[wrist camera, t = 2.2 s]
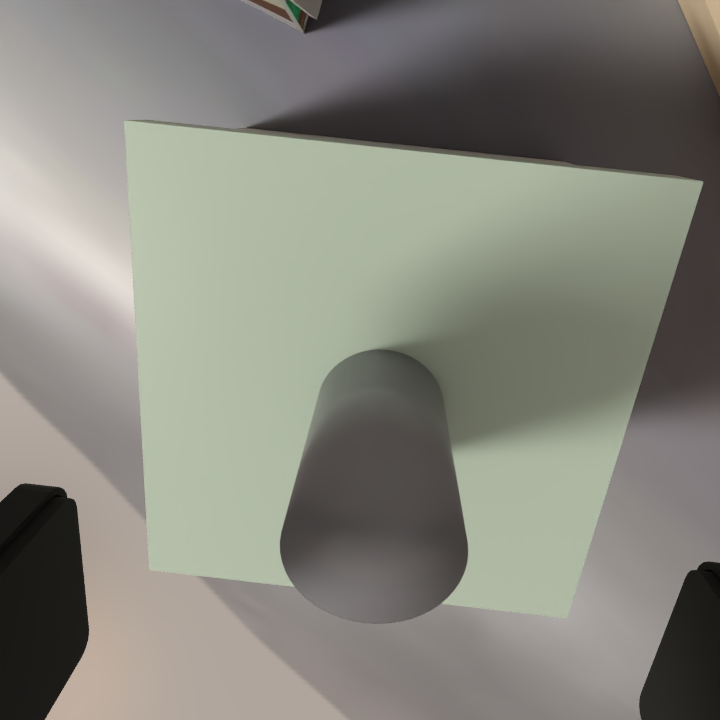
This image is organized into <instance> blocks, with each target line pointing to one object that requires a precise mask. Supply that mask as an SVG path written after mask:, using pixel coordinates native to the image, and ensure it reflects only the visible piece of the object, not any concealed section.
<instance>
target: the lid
mask: <svg viewBox="0 0 720 720" xmlns="http://www.w3.org/2000/svg"><path fill="white" fill-rule="evenodd" d="M124 127H125V144H126V162H127V180H128V198H129V216H130V234H131V251H132V269H133V287H134V305H135V323H136V341H137V359H138V376H139V394H140V412H141V430H142V448H143V466H144V484H145V501H146V519H147V536H148V555H149V570H153V571H162V572H170V573H180V574H188V575H196V576H205V577H214V578H222V579H231V580H240V581H248V582H257V583H266V584H275V585H283V586H292V587H295V588H296V589H297V590H298V591H299V592H300V593H301V594H302V595H303V596H304V597H305V598H306V599H307V600H309V601H310V602H311V603H312V604H314V605H315V606H317V607H319V608H320V609H322V610H324V611H326V612H328V613H330V614H332V615H335V616H337V617H340V618H343V619H347V620H350V621H355V622H361V623H372V624H383V623H394V622H400V621H404V620H408V619H412V618H414V617H417V616H420V615H422V614H424V613H426V612H428V611H430V610H432V609H433V608H435V607H437V606H438V605H440V604H448V605H457V606H466V607H474V608H483V609H492V610H500V611H509V612H518V613H526V614H535V615H544V616H552V617H561V618H567V617H568V614H569V610H570V607H571V604H572V601H573V598H574V594H575V591H576V588H577V585H578V582H579V578H580V575H581V572H582V569H583V566H584V562H585V559H586V556H587V553H588V550H589V546H590V543H591V540H592V537H593V534H594V530H595V527H596V524H597V521H598V518H599V514H600V511H601V508H602V505H603V502H604V498H605V495H606V492H607V489H608V486H609V483H610V479H611V476H612V473H613V470H614V467H615V463H616V460H617V457H618V454H619V451H620V447H621V444H622V441H623V438H624V435H625V431H626V428H627V425H628V422H629V419H630V415H631V412H632V409H633V406H634V403H635V399H636V396H637V393H638V390H639V387H640V383H641V380H642V377H643V374H644V371H645V367H646V364H647V361H648V358H649V355H650V351H651V348H652V345H653V342H654V339H655V336H656V332H657V329H658V326H659V323H660V320H661V316H662V313H663V310H664V307H665V304H666V300H667V297H668V294H669V291H670V288H671V284H672V281H673V278H674V275H675V272H676V268H677V265H678V262H679V259H680V256H681V252H682V249H683V246H684V243H685V240H686V236H687V233H688V230H689V227H690V224H691V220H692V217H693V214H694V211H695V208H696V204H697V201H698V198H699V195H700V192H701V189H702V185H703V181H699V180H694V179H690V178H685V177H681V176H675V175H666V174H656V173H647V172H637V171H628V170H618V169H609V168H599V167H590V166H580V165H571V164H561V163H552V162H543V161H533V160H524V159H514V158H505V157H495V156H486V155H476V154H467V153H457V152H448V151H438V150H429V149H419V148H410V147H400V146H391V145H381V144H372V143H362V142H353V141H343V140H334V139H324V138H315V137H306V136H296V135H287V134H277V133H268V132H258V131H249V130H239V129H230V128H220V127H211V126H201V125H192V124H182V123H173V122H163V121H154V120H124Z"/></svg>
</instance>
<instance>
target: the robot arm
mask: <svg viewBox="0 0 720 720" xmlns="http://www.w3.org/2000/svg"><path fill="white" fill-rule="evenodd" d="M78 524H79V523H78V513H77V506H76V502H75V501H74V499H71V498H67V494H66V492H65V490H64V489H62V488H60V487H52V486H44V485H35V484H26V483H25V484H20V485H19V486H17V487H16V488H15V489H14V490H13V491H12V492H11V493H10V494H9V495H7V497H5V498H4V499H3V500H2V501H1V502H0V720H45V718H46V717H47V715H48V713H49V711H50V709H51V708H52V706H53V705H54V703H55V701H56V700H57V698H58V696H59V694H60V693H61V691H62V689H63V688H64V686H65V684H66V683H67V681H68V679H69V678H70V676H71V674H72V672H73V671H74V669H75V667H76V666H77V664H78V662H79V661H80V659H81V657H82V655H83V653H84V650H85V648H86V645H87V641H88V635H89V625H88V615H87V606H86V595H85V584H84V574H83V565H82V554H81V544H80V534H79V525H78ZM639 707H640V715H641V719H642V720H720V563H716V562H703V563H702V564H701V565H700V566H699V567H698V569H697V570H691V571H690V572H689V573H688V574H687V576H686V578H685V581H684V583H683V586H682V588H681V591H680V593H679V596H678V599H677V601H676V604H675V606H674V609H673V612H672V614H671V617H670V619H669V622H668V625H667V627H666V630H665V632H664V635H663V638H662V640H661V643H660V645H659V648H658V651H657V653H656V656H655V658H654V661H653V664H652V666H651V669H650V671H649V674H648V677H647V679H646V682H645V684H644V687H643V690H642V692H641V695H640V702H639Z"/></svg>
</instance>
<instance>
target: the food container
mask: <svg viewBox="0 0 720 720" xmlns="http://www.w3.org/2000/svg"><path fill="white" fill-rule="evenodd" d="M240 1H242V2H244V3H246V4H248V5H250V6H252V7H254V8H256V9H258V10H260V11H262V12H264V13H266V14H267V15H269V16H271V17H273V18H275V19H277V20H279V21H281V22H283V23H285V24H287V25H289V26H291V27H293V28H295V29H296V30H298V31H300V32H302V33H304V34H305V31H306V28H307V24H308V21H309V17H310V16H311V17H313V18H315V19H317V18H318V14H319V11H320V7H321V4H322V1H323V0H240Z"/></svg>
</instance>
